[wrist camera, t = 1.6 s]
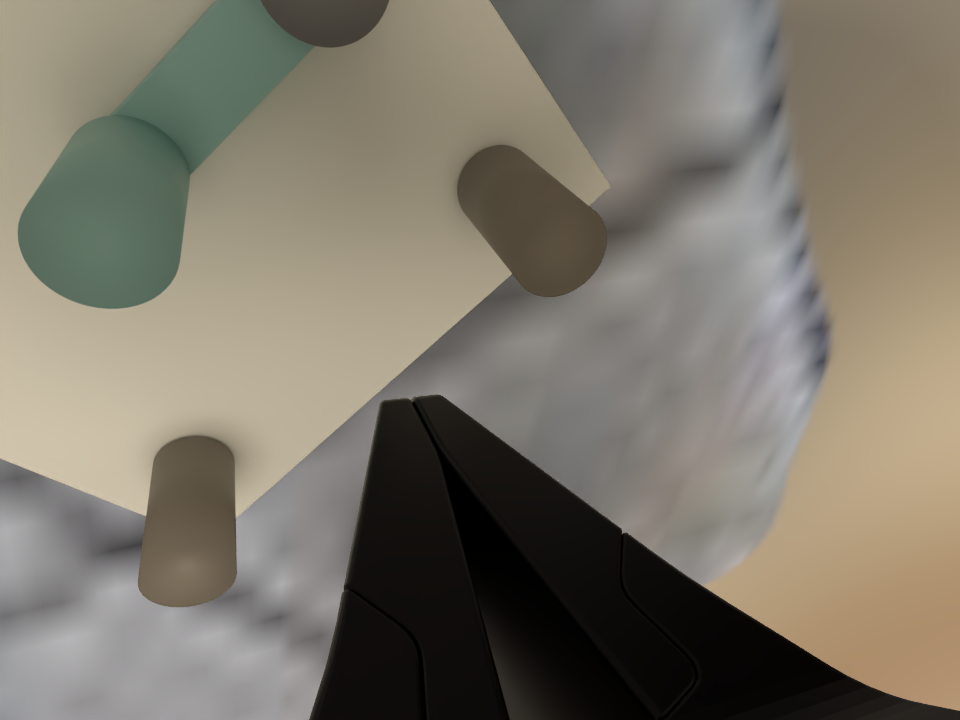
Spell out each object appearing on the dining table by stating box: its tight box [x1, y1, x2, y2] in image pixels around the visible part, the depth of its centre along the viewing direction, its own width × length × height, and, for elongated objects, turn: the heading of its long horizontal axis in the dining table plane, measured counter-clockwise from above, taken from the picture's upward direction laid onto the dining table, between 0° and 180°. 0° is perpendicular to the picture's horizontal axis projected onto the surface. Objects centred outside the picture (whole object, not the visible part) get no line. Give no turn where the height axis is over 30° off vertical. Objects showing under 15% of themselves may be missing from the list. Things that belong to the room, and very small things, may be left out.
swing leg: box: [17, 0, 389, 309], centre depth 12 cm, size 9×3×5 cm, turn 128°
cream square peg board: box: [0, 0, 611, 607], centre depth 14 cm, size 18×18×6 cm
